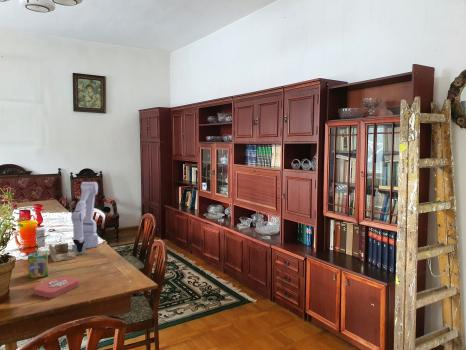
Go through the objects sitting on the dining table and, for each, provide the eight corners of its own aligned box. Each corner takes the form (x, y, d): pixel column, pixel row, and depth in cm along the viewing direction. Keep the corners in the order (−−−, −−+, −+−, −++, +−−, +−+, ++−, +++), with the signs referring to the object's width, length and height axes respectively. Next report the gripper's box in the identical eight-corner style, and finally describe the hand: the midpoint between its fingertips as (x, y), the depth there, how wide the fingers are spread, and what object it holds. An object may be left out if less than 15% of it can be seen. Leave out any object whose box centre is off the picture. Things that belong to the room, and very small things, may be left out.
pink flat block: (59, 274, 191) (81, 278, 186) (59, 281, 192) (81, 286, 186) (28, 286, 175) (51, 291, 169) (28, 294, 175) (51, 299, 169)
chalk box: (48, 276, 197) (47, 249, 195) (28, 279, 193) (27, 251, 191) (48, 271, 205) (47, 244, 204) (29, 273, 201) (28, 246, 200)
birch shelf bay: (69, 251, 241) (69, 241, 240) (75, 258, 228) (75, 247, 227) (49, 254, 234) (49, 244, 233) (54, 261, 221) (53, 250, 220)
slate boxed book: (83, 251, 241) (83, 243, 240) (85, 253, 238) (85, 244, 237) (72, 253, 237) (72, 245, 236) (73, 255, 234) (73, 246, 233)
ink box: (31, 247, 248) (30, 230, 247) (30, 246, 252) (29, 229, 251) (45, 246, 252) (44, 229, 251) (44, 244, 256) (43, 227, 255)
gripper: (69, 228, 239) (69, 249, 241) (74, 233, 228) (74, 255, 229) (80, 227, 243) (81, 247, 245) (86, 232, 232) (86, 253, 233)
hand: (78, 251), depth 237 cm, fingers closed on slate boxed book, 4 cm apart
